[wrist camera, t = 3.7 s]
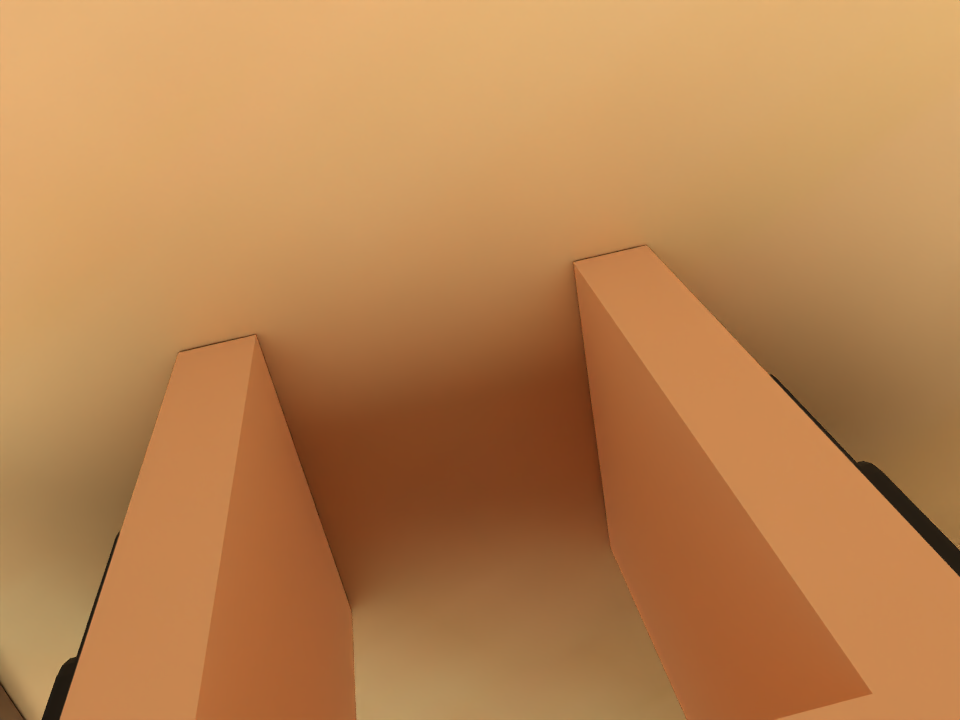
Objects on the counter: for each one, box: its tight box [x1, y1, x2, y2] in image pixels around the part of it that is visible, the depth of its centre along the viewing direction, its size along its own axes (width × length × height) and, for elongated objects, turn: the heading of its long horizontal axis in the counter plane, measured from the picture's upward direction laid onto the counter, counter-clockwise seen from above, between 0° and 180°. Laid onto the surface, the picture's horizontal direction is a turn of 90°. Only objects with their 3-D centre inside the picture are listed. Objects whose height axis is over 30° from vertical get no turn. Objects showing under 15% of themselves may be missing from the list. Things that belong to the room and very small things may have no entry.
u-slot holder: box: [60, 245, 960, 720], centre depth 8 cm, size 5×6×9 cm
